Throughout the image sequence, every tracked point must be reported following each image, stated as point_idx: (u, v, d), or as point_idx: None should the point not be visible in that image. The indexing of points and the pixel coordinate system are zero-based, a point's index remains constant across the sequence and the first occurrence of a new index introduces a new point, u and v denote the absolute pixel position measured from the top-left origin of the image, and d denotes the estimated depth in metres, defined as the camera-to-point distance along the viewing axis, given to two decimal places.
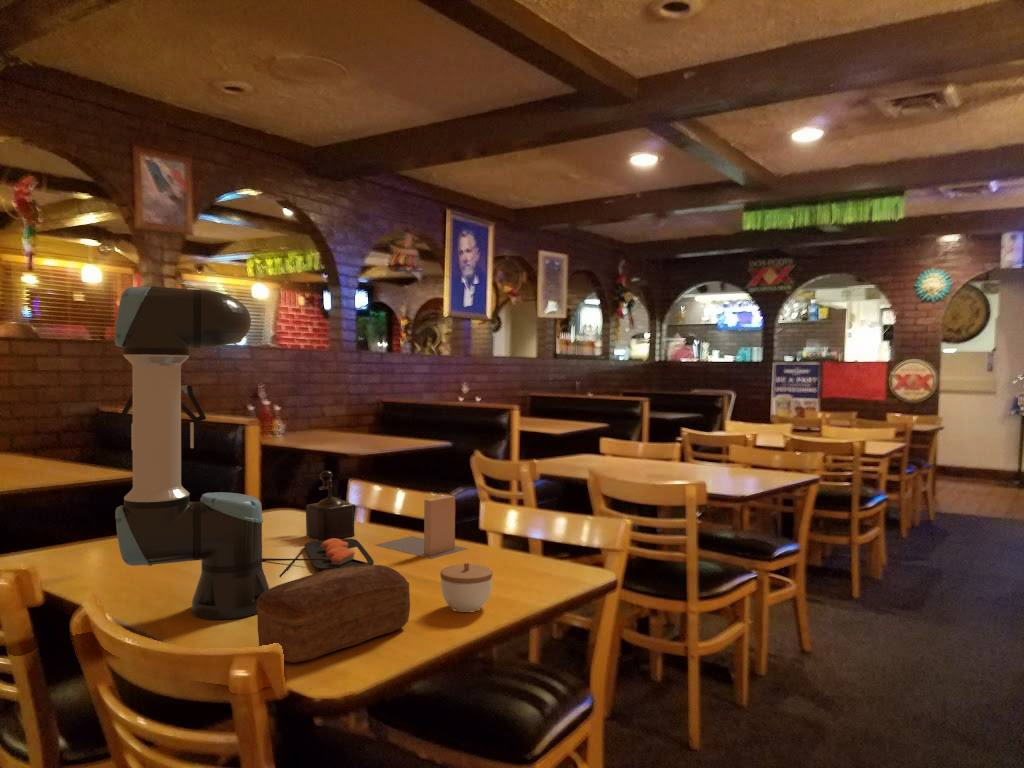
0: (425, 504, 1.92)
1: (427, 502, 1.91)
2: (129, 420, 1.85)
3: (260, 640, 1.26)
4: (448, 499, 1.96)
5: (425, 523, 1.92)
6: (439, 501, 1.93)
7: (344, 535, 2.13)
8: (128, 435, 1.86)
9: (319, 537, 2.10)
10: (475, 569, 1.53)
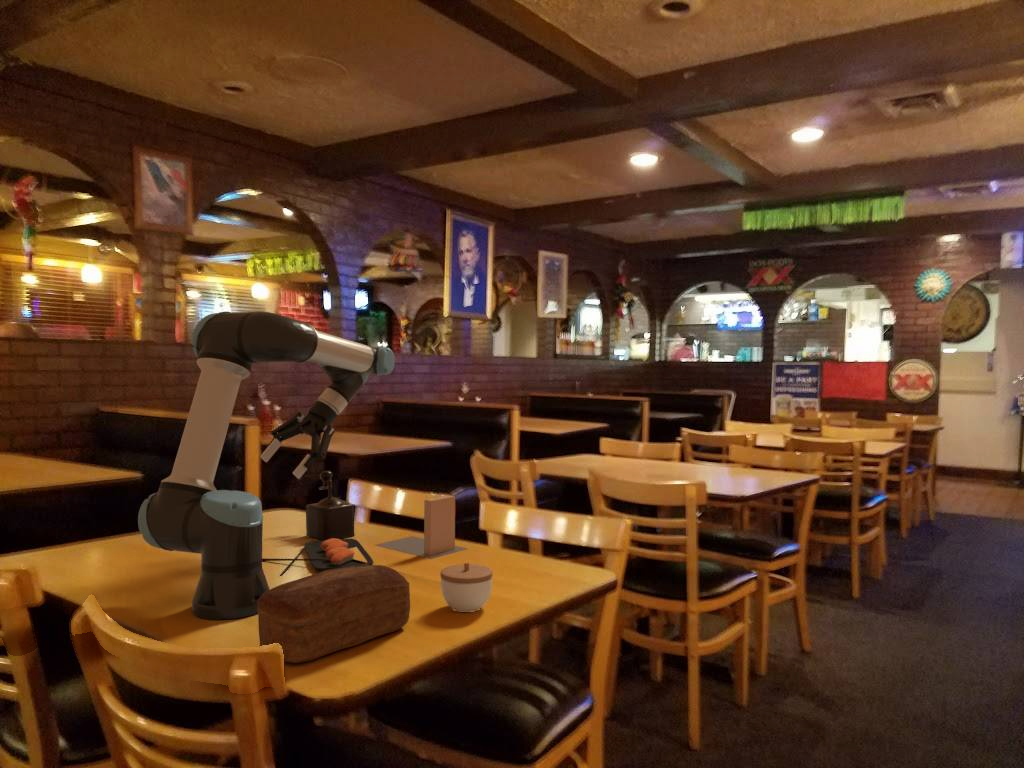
0: (425, 504, 1.92)
1: (427, 502, 1.91)
2: (276, 435, 2.06)
3: (261, 640, 1.26)
4: (448, 499, 1.96)
5: (425, 523, 1.92)
6: (439, 501, 1.93)
7: (344, 535, 2.13)
8: (268, 446, 2.05)
9: (319, 537, 2.10)
10: (475, 569, 1.53)
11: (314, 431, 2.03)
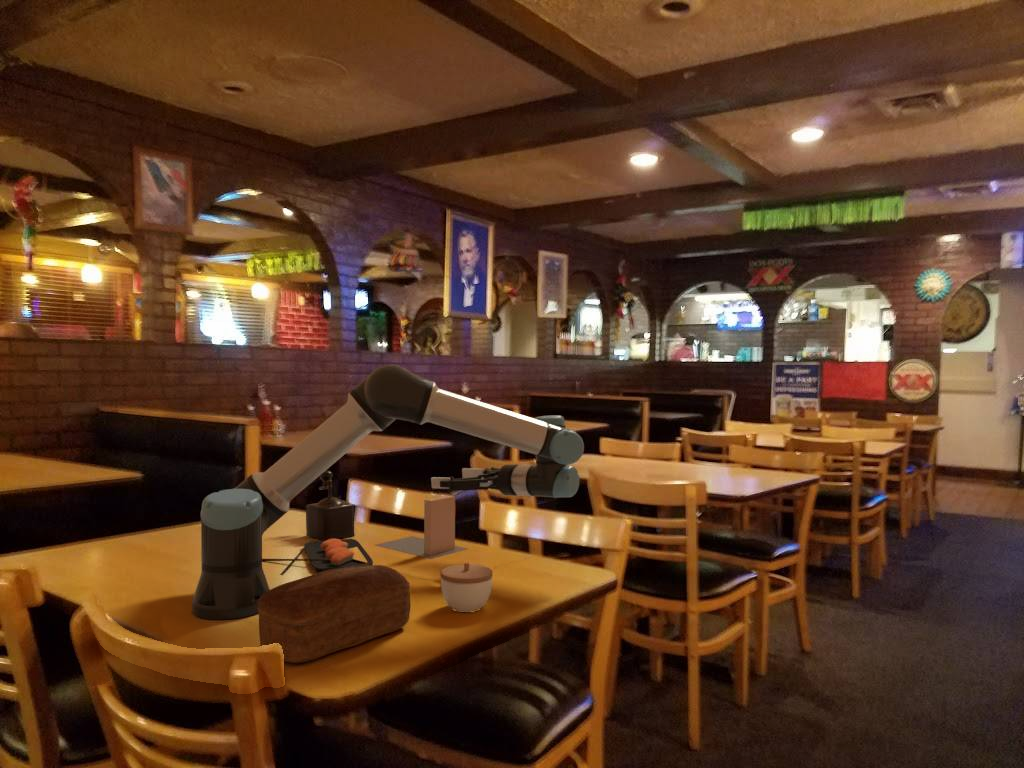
0: (425, 504, 1.92)
1: (427, 502, 1.91)
2: (487, 468, 1.95)
3: (262, 640, 1.26)
4: (448, 499, 1.96)
5: (425, 523, 1.92)
6: (439, 501, 1.93)
7: (344, 535, 2.13)
8: None
9: (319, 537, 2.10)
10: (475, 569, 1.53)
11: (481, 475, 1.83)
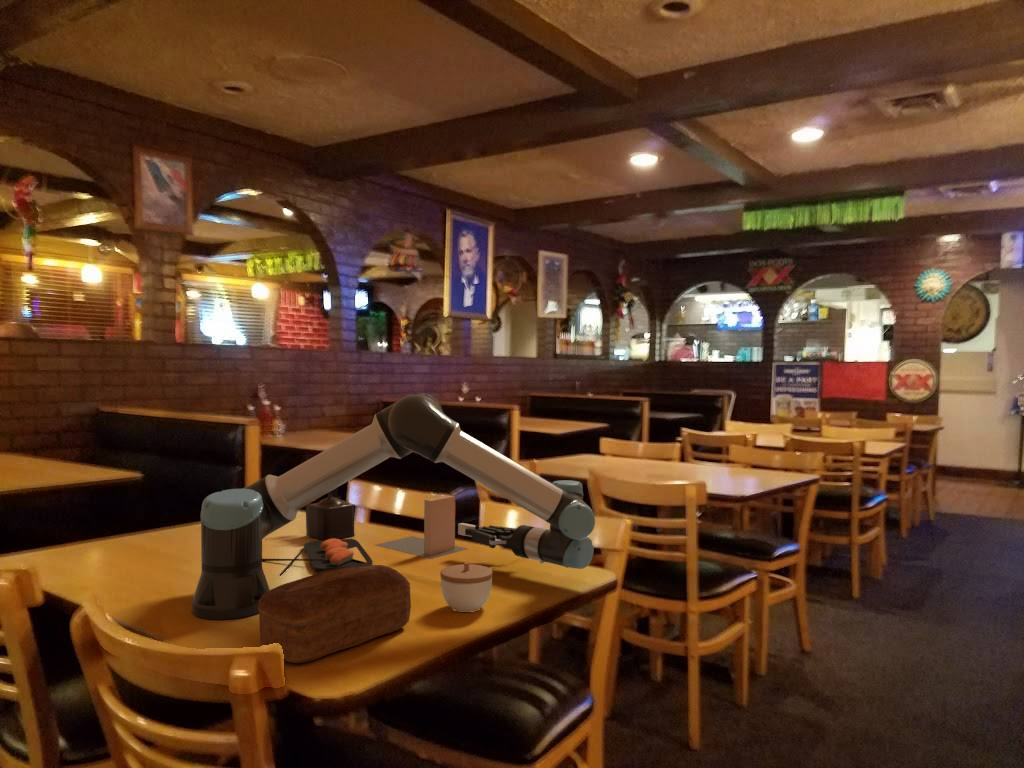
0: (425, 504, 1.92)
1: (427, 502, 1.91)
2: (485, 527, 1.87)
3: (262, 641, 1.26)
4: (448, 499, 1.96)
5: (425, 523, 1.92)
6: (439, 501, 1.93)
7: (344, 535, 2.13)
8: None
9: (319, 537, 2.10)
10: (475, 569, 1.53)
11: (498, 531, 1.80)
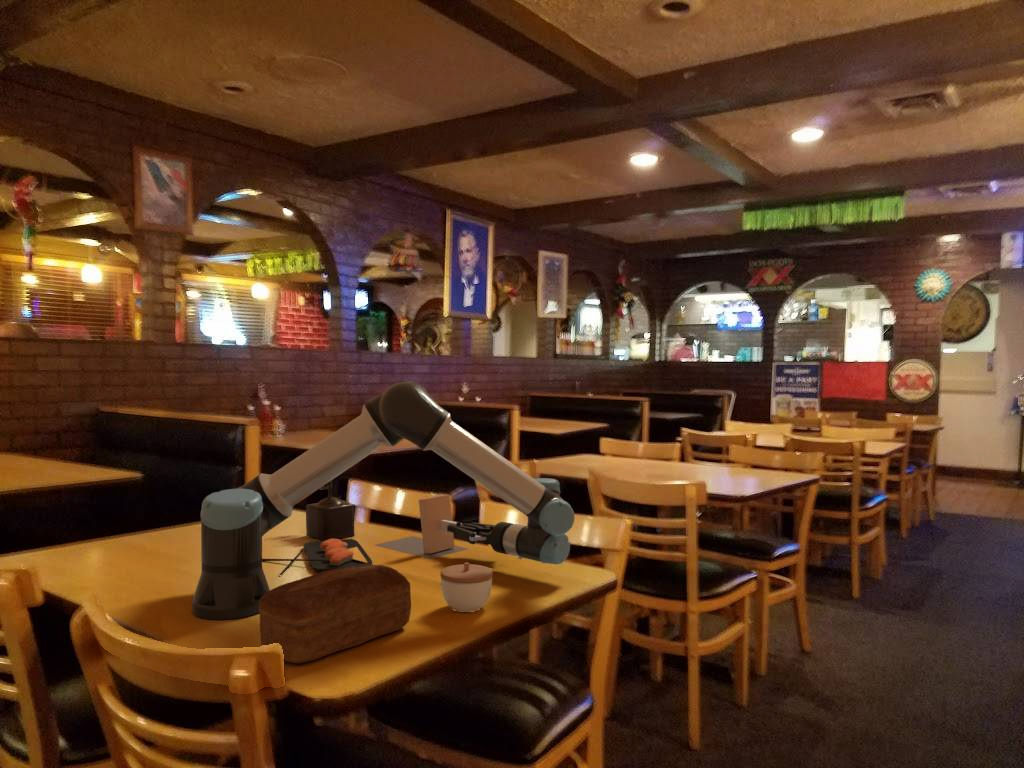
0: (420, 503, 1.93)
1: (421, 501, 1.93)
2: (467, 523, 1.91)
3: (263, 641, 1.26)
4: (442, 497, 1.97)
5: (422, 522, 1.93)
6: (433, 499, 1.94)
7: (344, 535, 2.13)
8: None
9: (319, 537, 2.10)
10: (475, 569, 1.53)
11: (478, 528, 1.84)
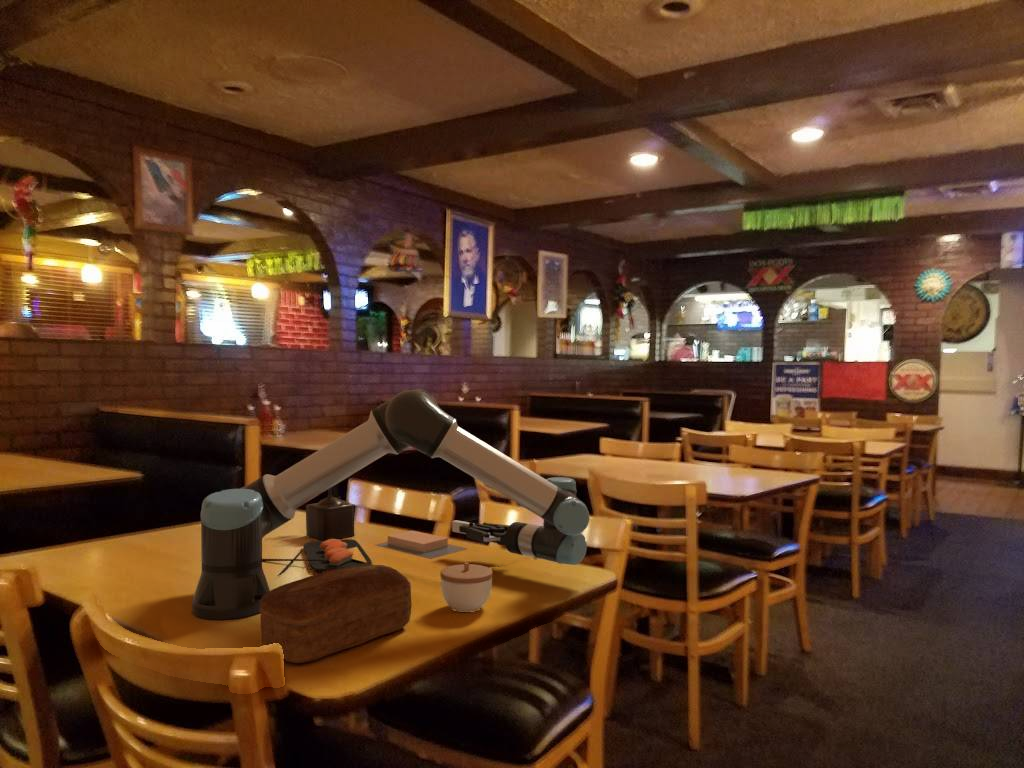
0: (390, 543, 2.01)
1: (388, 540, 2.01)
2: (479, 524, 1.88)
3: (263, 641, 1.26)
4: (406, 532, 2.06)
5: (402, 546, 1.98)
6: (397, 534, 2.03)
7: (344, 535, 2.13)
8: None
9: (319, 537, 2.10)
10: (475, 569, 1.53)
11: (492, 528, 1.81)
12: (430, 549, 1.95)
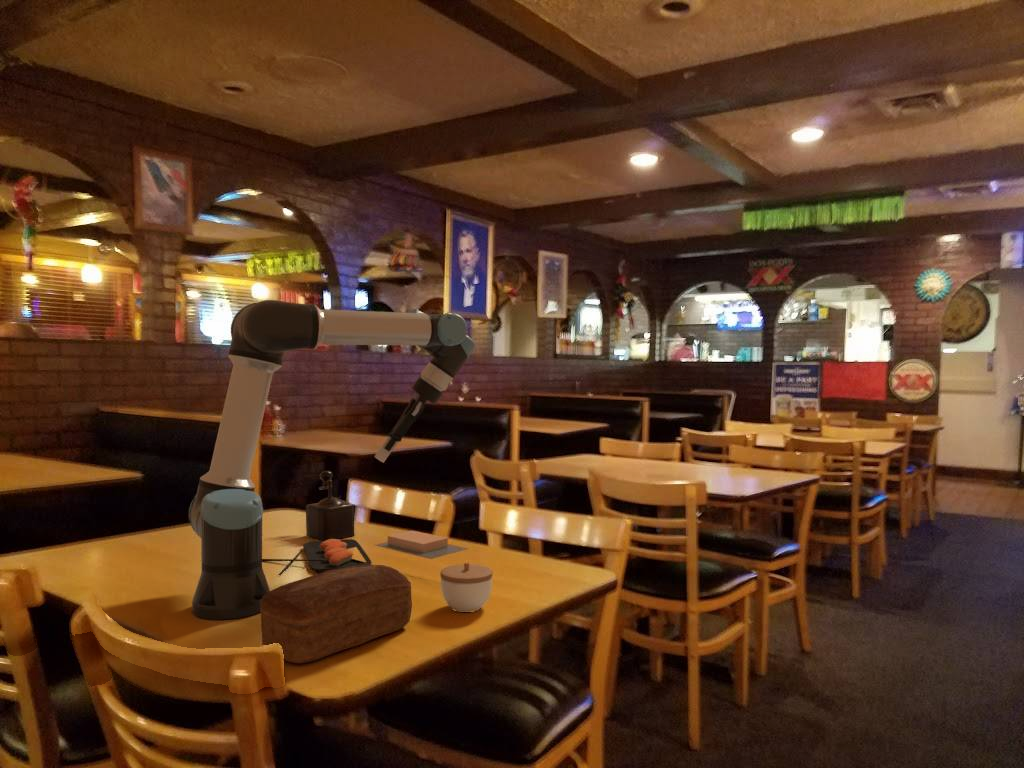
0: (390, 543, 2.01)
1: (388, 540, 2.01)
2: (391, 432, 1.91)
3: (264, 641, 1.26)
4: (406, 532, 2.06)
5: (402, 546, 1.98)
6: (397, 534, 2.03)
7: (344, 535, 2.13)
8: None
9: (319, 537, 2.10)
10: (475, 569, 1.53)
11: (406, 411, 1.88)
12: (430, 549, 1.95)
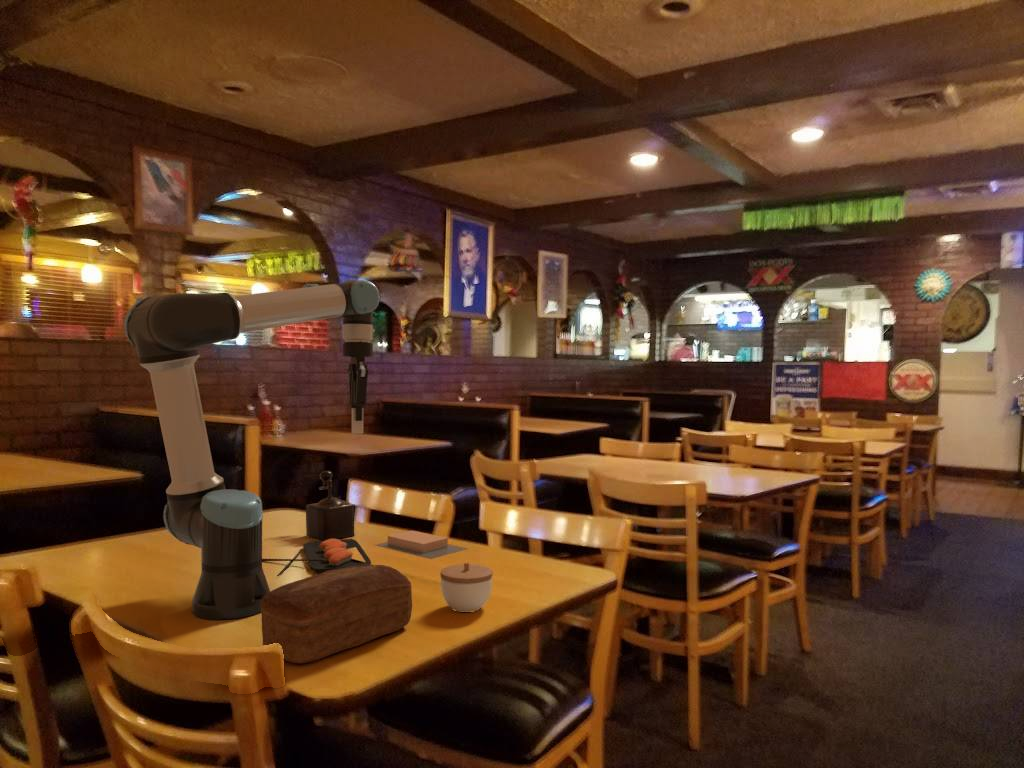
0: (390, 543, 2.01)
1: (388, 540, 2.01)
2: (351, 404, 1.90)
3: (265, 641, 1.26)
4: (406, 532, 2.06)
5: (402, 546, 1.98)
6: (397, 534, 2.03)
7: (344, 535, 2.13)
8: None
9: (319, 537, 2.10)
10: (475, 569, 1.53)
11: (352, 377, 1.87)
12: (430, 549, 1.95)
